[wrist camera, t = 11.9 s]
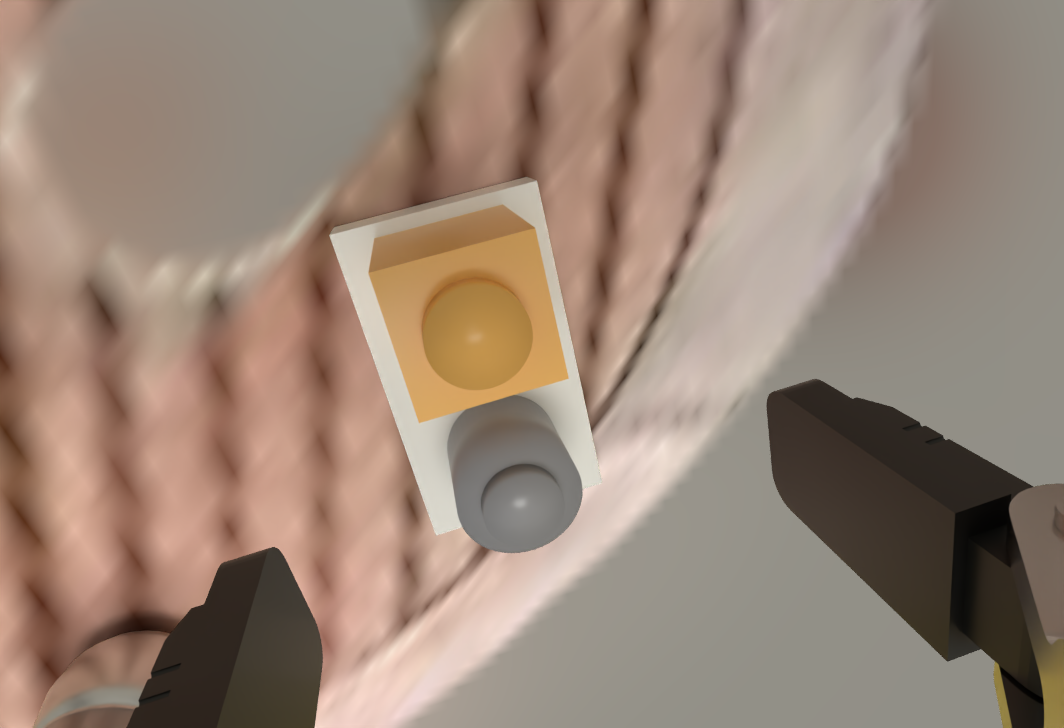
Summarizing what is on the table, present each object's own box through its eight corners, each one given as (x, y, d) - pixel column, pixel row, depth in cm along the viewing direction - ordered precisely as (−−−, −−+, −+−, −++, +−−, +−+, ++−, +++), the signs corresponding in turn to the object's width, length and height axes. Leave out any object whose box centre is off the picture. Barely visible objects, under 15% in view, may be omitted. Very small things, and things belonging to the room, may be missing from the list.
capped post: (463, 505, 28) (477, 582, 24) (433, 413, 26) (442, 476, 22) (565, 473, 29) (599, 542, 24) (542, 380, 27) (574, 435, 22)
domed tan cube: (413, 358, 25) (420, 437, 19) (374, 238, 23) (366, 281, 17) (531, 324, 26) (577, 390, 20) (502, 204, 24) (542, 233, 18)
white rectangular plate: (433, 511, 30) (436, 535, 29) (333, 227, 25) (329, 235, 23) (590, 461, 31) (602, 482, 29) (526, 176, 26) (536, 180, 24)
